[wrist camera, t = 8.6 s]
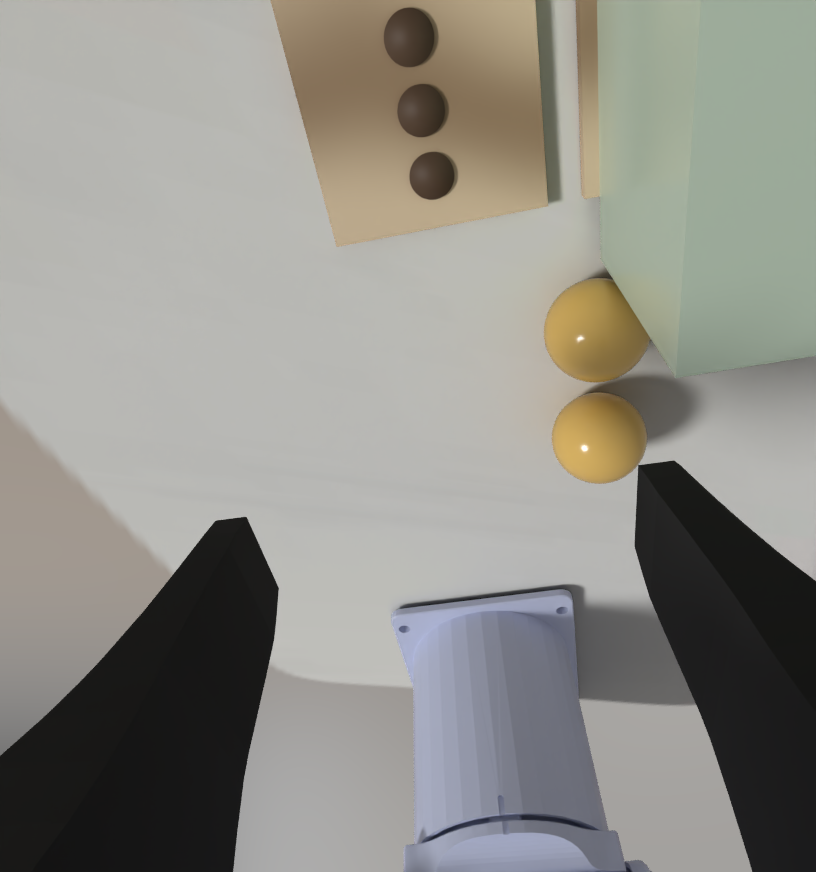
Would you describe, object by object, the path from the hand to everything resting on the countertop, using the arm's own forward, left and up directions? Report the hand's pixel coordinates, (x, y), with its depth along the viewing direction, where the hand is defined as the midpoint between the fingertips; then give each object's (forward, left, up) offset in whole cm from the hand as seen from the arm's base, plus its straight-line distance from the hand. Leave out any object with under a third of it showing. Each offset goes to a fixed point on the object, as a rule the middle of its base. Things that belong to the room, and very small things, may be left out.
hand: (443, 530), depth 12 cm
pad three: (+5, -1, -10) cm, 11 cm away
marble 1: (-1, -5, -10) cm, 11 cm away
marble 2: (-5, -5, -10) cm, 12 cm away
